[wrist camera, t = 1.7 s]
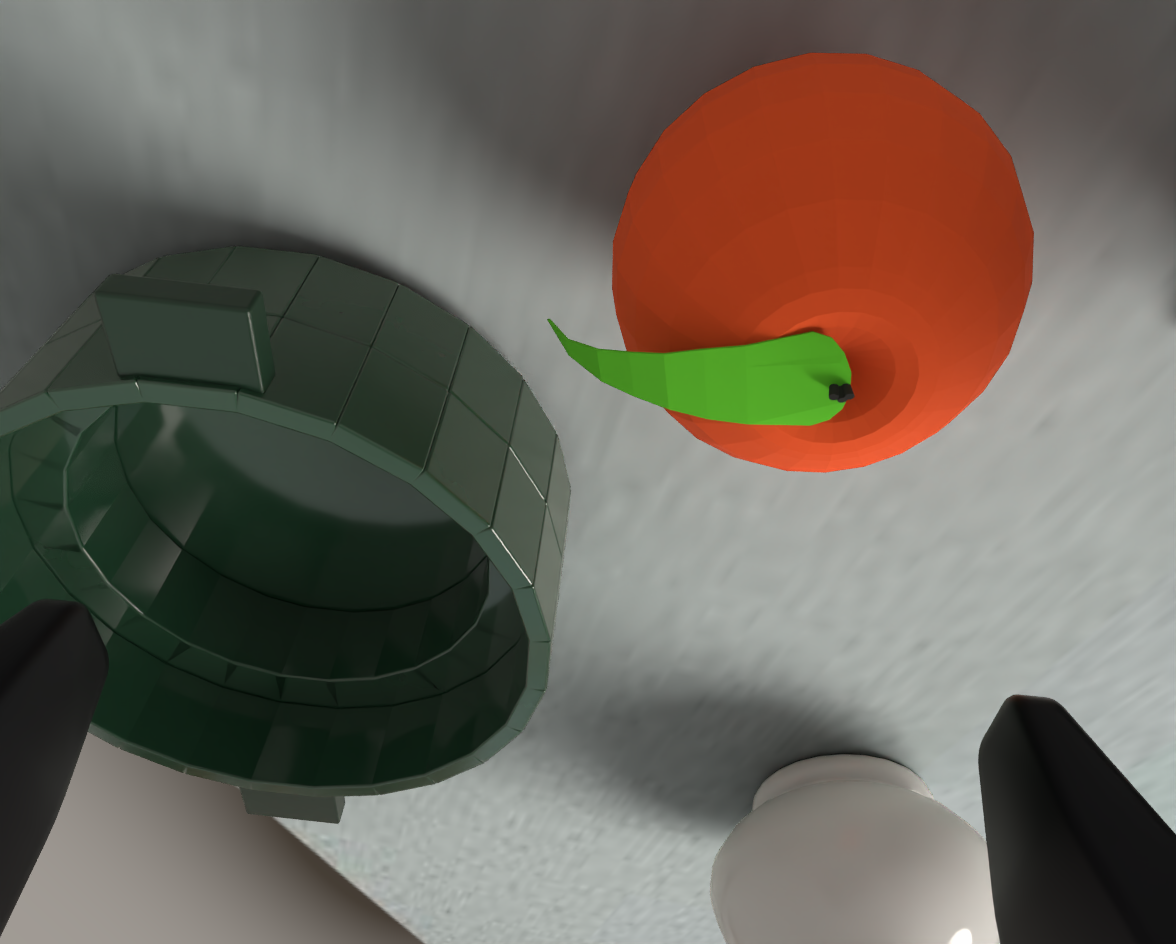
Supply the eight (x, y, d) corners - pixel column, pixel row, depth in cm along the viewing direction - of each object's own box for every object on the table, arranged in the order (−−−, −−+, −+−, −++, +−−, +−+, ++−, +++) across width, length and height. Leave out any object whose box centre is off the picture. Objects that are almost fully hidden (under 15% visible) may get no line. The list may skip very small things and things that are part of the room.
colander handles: (263, 288, 16) (249, 310, 15) (346, 801, 27) (339, 824, 26) (110, 270, 16) (90, 292, 15) (254, 791, 27) (246, 814, 26)
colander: (593, 272, 20) (571, 429, 16) (554, 657, 29) (534, 822, 25) (-23, 203, 20) (-202, 342, 16) (125, 608, 29) (33, 766, 25)
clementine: (591, 348, 22) (563, 575, 16) (542, 31, 17) (481, 198, 12) (954, 322, 21) (1051, 556, 15) (1001, -26, 16) (1164, 130, 11)
